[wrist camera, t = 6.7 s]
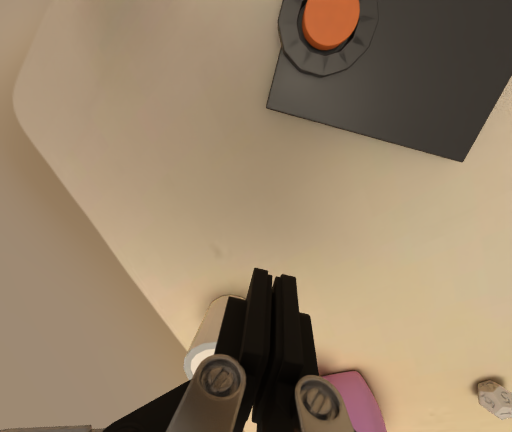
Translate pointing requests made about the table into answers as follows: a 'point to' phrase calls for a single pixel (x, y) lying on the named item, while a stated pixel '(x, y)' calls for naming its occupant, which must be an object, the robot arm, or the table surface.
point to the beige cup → (206, 336)
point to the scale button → (329, 22)
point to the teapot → (358, 401)
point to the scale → (401, 72)
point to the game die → (495, 399)
